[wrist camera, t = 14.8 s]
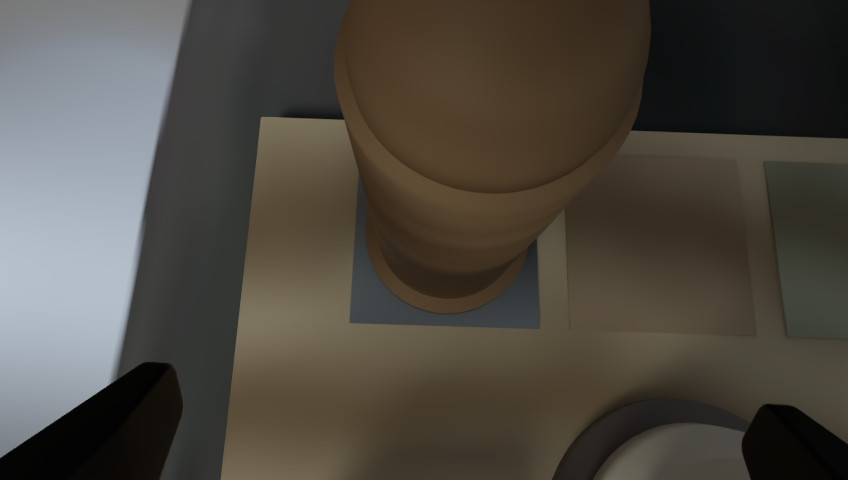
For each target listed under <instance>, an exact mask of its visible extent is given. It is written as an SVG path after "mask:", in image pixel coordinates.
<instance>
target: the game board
mask: <svg viewBox="0 0 848 480" xmlns="http://www.w3.org/2000/svg"><path fill="white" fill-rule="evenodd" d="M367 210H368V203H367V200H366V196H365V192H364V189H363V185H362V182H361V178H360V175H359V171H358V167H357V164H356V160H355V157H354V153H353V149H352V146H351V142H350V139H349V135H348V132H347V128H346V124H345V121H344V120H332V119H305V118H279V117H261V124H260V133H259V142H258V151H257V160H256V169H255V178H254V187H253V196H252V205H251V214H250V223H249V232H248V241H247V250H246V259H245V268H244V277H243V286H242V295H241V304H240V313H239V322H238V331H237V340H236V349H235V358H234V367H233V376H232V384H231V393H230V402H229V411H228V420H227V429H226V438H225V447H224V456H223V465H222V474H221V480H593V478H594V477H595V475H596V473H597V472H598V470H599V469H600V467H601V466H602V465H603V464H604V462H605V461H606V460H607V458H608V457H609V456H610V455H611V454H612V453H613V452H614V451H616V450H617V449H618V448H619V447H620V446H621V445H623V444H624V443H625V442H627V441H628V440H630V439H631V438H632V437H634V436H636V435H638V434H640V433H642V432H644V431H646V430H649V429H652V428H655V427H658V426H662V425H667V424H673V423H700V424H708V425H714V426H719V427H724V428H729V429H733V430H737V431H742V432H746V430H747V429H748V427H749V425H750V423H751V421H752V420H753V418H754V416H755V414H756V412H757V410H758V409H759V408H760V407H761V406H762V405H764V404H768V403H769V404H784V405H791V406H794V407H796V408H798V409H799V410H801V411H802V412H803V413H805V414H806V415H808V416H809V417H811V418H812V419H813V420H815V421H816V422H818V423H819V424H820V425H822V426H823V427H825V428H826V429H827V430H829V431H830V432H832V433H833V434H835V435H836V436H837V437H839V438H840V439H842V440H843V441H844V442H846V443H847V444H848V139H839V138H812V137H785V136H759V135H732V134H705V133H679V132H652V131H630V133H629V135H628V137H627V138H626V140H625V142H624V143H623V145H622V147H621V148H620V150H619V151H618V152H617V153H616V154H615V156H614V157H613V158H612V159H611V161H610V162H609V163H608V164H607V165H606V166H605V167H604V168H603V169H602V170H601V171H600V172H599V173H598V175H597V176H596V177H595V178H594V179H593V180H592V181H591V182H590V183H589V184H588V185H587V186H586V187H585V188H584V189H583V190H582V191H581V192H580V193H579V194H578V195H577V196H576V198H575V199H574V200H573V201H572V202H571V203H570V204H569V205H568V206H567V207H566V208H565V209H564V210H563V211H562V212H561V213H560V214H559V215H558V216H557V217H556V218H555V220H554V221H553V222H552V223H551V224H550V225H549V226H548V227H547V228H546V229H545V230H544V231H543V232H542V233H541V234H540V235H539V236H538V237H537V238H536V239H535V240H534V241H533V243H532V244H531V245H530V246H529V248H528V252H527V256H526V259H525V261H524V264H523V266H522V268H521V270H520V272H519V273H518V275H517V277H516V278H515V279H514V281H513V282H512V283H511V284H510V285H509V287H508V288H506V289H505V290H504V291H503V292H502V293H501V294H500V295H499V296H498V297H496V298H495V299H493V300H492V301H491V302H489V303H487V304H485V305H484V306H482V307H480V308H477V309H474V310H472V311H469V312H464V313H459V314H435V313H430V312H426V311H422V310H419V309H416V308H414V307H412V306H410V305H408V304H406V303H405V302H403V301H402V300H400V299H399V298H397V297H396V296H395V295H394V294H393V293H392V292H390V291H389V289H388V288H387V287H386V286H385V285H384V284H383V282H382V281H381V280H380V278H379V277H378V275H377V273H376V271H375V269H374V267H373V265H372V263H371V260H370V257H369V254H368V251H367V246H366V241H365V220H366V215H367Z"/></svg>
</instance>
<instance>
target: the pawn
mask: <svg viewBox="0 0 848 480" xmlns="http://www.w3.org/2000/svg"><path fill="white" fill-rule="evenodd" d="M650 38H651V18H650V4H649V0H349V4H348V8H347V11H346V13H345V16H344V18H343V21H342V23H341V26H340V29H339V33H338V37H337V41H336V46H335V56H334V76H335V84H336V89H337V95H338V99H339V103H340V107H341V110H342V114H343V117H344V121H345V124H346V128H347V132H348V135H349V139H350V142H351V146H352V149H353V153H354V157H355V160H356V164H357V167H358V171H359V175H360V178H361V182H362V185H363V189H364V192H365V196H366V200H367V203H368V210H367V215H366V220H365V241H366V246H367V251H368V254H369V257H370V260H371V263H372V265H373V267H374V269H375V271H376V273H377V275H378V277H379V278H380V280H381V281H382V282H383V284H384V285H385V286H386V287H387V288H388V289H389V291H390V292H392V293H393V294H394V295H395V296H396V297H397V298H399V299H400V300H402V301H403V302H405V303H406V304H408V305H410V306H412V307H414V308H416V309H419V310H422V311H426V312H430V313H435V314H459V313H464V312H469V311H472V310H474V309H477V308H480V307H482V306H484V305H485V304H487V303H489V302H491V301H492V300H493V299H495V298H496V297H498V296H499V295H500V294H501V293H502V292H503V291H504V290H505V289H506V288H508V287H509V285H510V284H511V283H512V282H513V281H514V279H515V278H516V277H517V275H518V273H519V272H520V270H521V268H522V266H523V264H524V261H525V259H526V256H527V252H528V248H529V246H530V245H531V244H532V243H533V241H534V240H535V239H536V238H537V237H538V236H539V235H540V234H541V233H542V232H543V231H544V230H545V229H546V228H547V227H548V226H549V225H550V224H551V223H552V222H553V221H554V220H555V218H556V217H557V216H558V215H559V214H560V213H561V212H562V211H563V210H564V209H565V208H566V207H567V206H568V205H569V204H570V203H571V202H572V201H573V200H574V199H575V198H576V196H577V195H578V194H579V193H580V192H581V191H582V190H583V189H584V188H585V187H586V186H587V185H588V184H589V183H590V182H591V181H592V180H593V179H594V178H595V177H596V176H597V175H598V173H599V172H600V171H601V170H602V169H603V168H604V167H605V166H606V165H607V164H608V163H609V162H610V161H611V159H612V158H613V157H614V156H615V154H616V153H617V152H618V151H619V150H620V148H621V147H622V145H623V143H624V142H625V140H626V138H627V137H628V135H629V133H630V131H631V129H632V126H633V124H634V121H635V119H636V117H637V113H638V109H639V105H640V101H641V97H642V87H643V77H644V73H645V69H646V65H647V61H648V55H649V48H650Z"/></svg>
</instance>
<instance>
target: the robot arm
mask: <svg viewBox="0 0 848 480" xmlns="http://www.w3.org/2000/svg"><path fill="white" fill-rule="evenodd" d="M182 411H183V399H182V395H181V390H180V386H179V382H178V378H177V374H176V370H175V368H174V366H173V365H172V364H169V363H158V362H145V363H142V364H140V365H138V366H137V367H135V368H134V369H132V370H131V371H129V372H128V373H126V374H125V375H123V376H122V377H120V378H119V379H117V380H116V381H114V382H113V383H111V384H110V385H108V386H107V387H106V388H104V389H103V390H101V391H100V392H98V393H97V394H95V395H94V396H92V397H91V398H89V399H88V400H86V401H85V402H83V403H82V404H80V405H79V406H77V407H76V408H74V409H73V410H71V411H70V412H68V413H67V414H65V415H64V416H62V417H61V418H59V419H58V420H56V421H55V422H53V423H52V424H50V425H49V426H47V427H46V428H44V429H43V430H42V431H40V432H38V433H37V434H35V435H34V436H33V437H31V438H30V439H28V440H26V441H25V442H24V443H22V444H20V445H19V446H18V447H16V448H14V449H13V450H11V451H10V452H8V453H7V454H6V455H4V456H3V457H1V458H0V480H160V477H161V474H162V471H163V468H164V465H165V462H166V460H167V457H168V454H169V451H170V448H171V445H172V442H173V439H174V436H175V434H176V431H177V428H178V425H179V422H180V419H181V416H182ZM741 448H742V454H743V458H744V461H745V464H746V467H747V470H748V473H749V476H750V479H751V480H848V444H847V443H846V442H844V441H843V440H842V439H840V438H839V437H837V436H836V435H835V434H833V433H832V432H830V431H829V430H827V429H826V428H825V427H823V426H822V425H820V424H819V423H818V422H816V421H815V420H813V419H812V418H811V417H809V416H808V415H806V414H805V413H803V412H802V411H801V410H799V409H798V408H796V407H794V406H791V405H784V404H769V403H768V404H764V405H762V406H761V407H760V408H759V409H758V410H757V412H756V414H755V416H754V418H753V420H752V421H751V423H750V425H749V427H748V429H747V430H746V432H745V434H744V436H743V438H742V445H741Z"/></svg>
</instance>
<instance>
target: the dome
mask: <svg viewBox="0 0 848 480" xmlns="http://www.w3.org/2000/svg"><path fill="white" fill-rule="evenodd" d="M744 434H745V432H742V431H737V430H733V429H729V428H724V427H719V426H714V425H708V424H700V423H673V424H667V425H662V426H658V427H655V428H652V429H649V430H646V431H644V432H642V433H640V434H638V435H636V436H634V437H632V438H631V439H630V440H628V441H627V442H625V443H624V444H623V445H621V446H620V447H619V448H618V449H617V450H616V451H614V452H613V453H612V454H611V455H610V456H609V457H608V458H607V460H606V461H605V462H604V464H603V465H602V466H601V467H600V469H599V470H598V472H597V473H596V475H595V477H594V478H593V480H751V479H750V476H749V473H748V470H747V467H746V464H745V461H744V458H743V454H742V448H741V445H742V438H743V436H744Z"/></svg>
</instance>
